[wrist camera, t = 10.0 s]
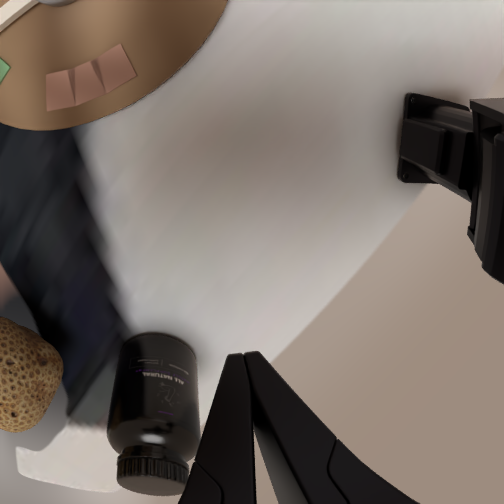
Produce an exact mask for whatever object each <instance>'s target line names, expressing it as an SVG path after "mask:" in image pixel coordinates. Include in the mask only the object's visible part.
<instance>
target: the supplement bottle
mask: <svg viewBox="0 0 504 504" xmlns="http://www.w3.org/2000/svg"><path fill="white" fill-rule="evenodd" d="M107 438H108V441H109V443H110V445H111V446H112V448H113V449H114V450H115V451H116V452H117V453H118V454H120V455H119V456H118V458H117V482H118V484H120V486H122V487H123V488H126V489H128V490H130V491H133V492H137V493H141V494H147V495H154V496H172V495H179V494H182V493H183V491H184V488H185V485H186V483H187V480H188V477H189V475H188V474H189V465H188V464H187V463H186V462H188V461H189V460H191V459H192V458H193V457H194V456H195V455H196V453H197V450H198V447H199V444H200V440H201V434H200V418H199V399H198V377H197V363H196V359H195V356H194V354H193V353H192V351H191V350H190V349H189V348H188V347H187V346H186V345H185V344H183V343H182V342H180V341H178V340H176V339H174V338H171V337H168V336H164V335H157V334H149V335H142V336H138V337H136V338H134V339H132V340H130V341H129V342H127V343H126V344H125V345H124V347H123V348H122V350H121V352H120V356H119V360H118V364H117V370H116V375H115V380H114V386H113V392H112V397H111V403H110V410H109V416H108V423H107Z"/></svg>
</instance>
